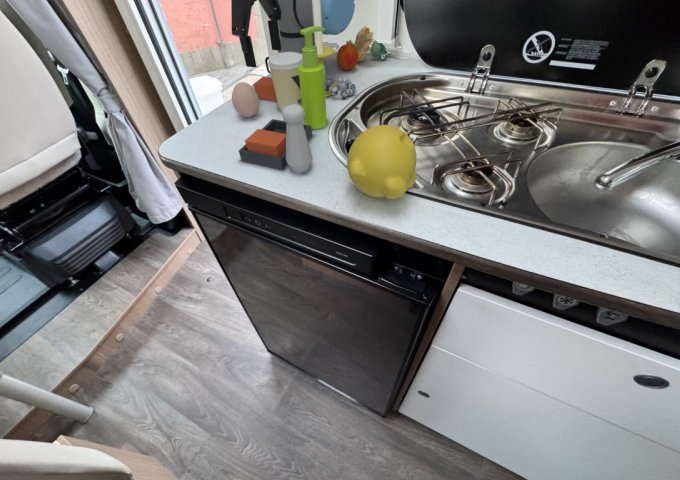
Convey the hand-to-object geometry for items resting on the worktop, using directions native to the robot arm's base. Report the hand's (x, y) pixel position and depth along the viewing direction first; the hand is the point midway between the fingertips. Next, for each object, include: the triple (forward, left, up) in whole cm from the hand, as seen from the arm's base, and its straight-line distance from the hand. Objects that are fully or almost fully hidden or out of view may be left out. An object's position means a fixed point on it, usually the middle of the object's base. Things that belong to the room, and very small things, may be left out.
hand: (264, 58), depth 81 cm
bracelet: (-8, +19, -9) cm, 23 cm away
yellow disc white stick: (-8, +13, -10) cm, 18 cm away
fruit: (-25, +15, -10) cm, 31 cm away
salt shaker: (+30, +25, -10) cm, 40 cm away
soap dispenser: (+11, +20, -10) cm, 25 cm away
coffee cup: (+4, +9, -10) cm, 14 cm away
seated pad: (+28, +16, -9) cm, 34 cm away
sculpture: (+34, +48, -9) cm, 60 cm away
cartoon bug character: (-32, +15, -5) cm, 36 cm away
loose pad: (0, 0, -10) cm, 10 cm away
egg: (+13, 0, -10) cm, 16 cm away
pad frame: (+25, +16, -10) cm, 31 cm away
